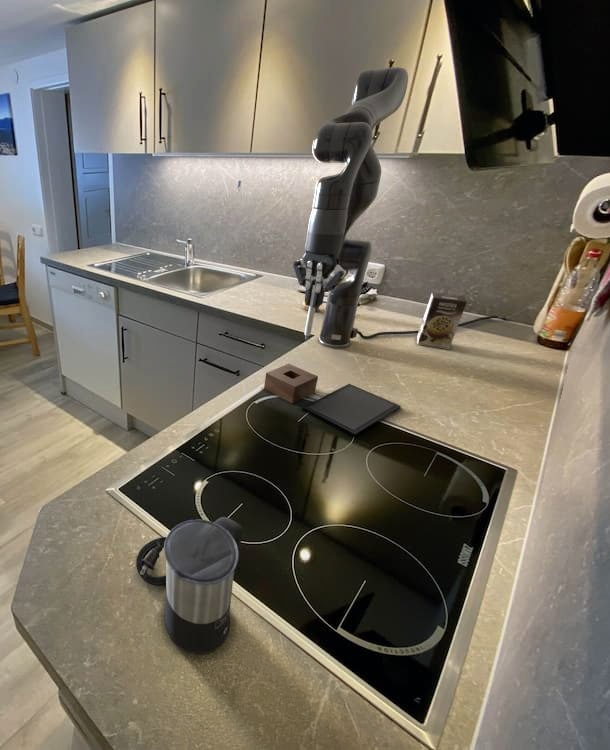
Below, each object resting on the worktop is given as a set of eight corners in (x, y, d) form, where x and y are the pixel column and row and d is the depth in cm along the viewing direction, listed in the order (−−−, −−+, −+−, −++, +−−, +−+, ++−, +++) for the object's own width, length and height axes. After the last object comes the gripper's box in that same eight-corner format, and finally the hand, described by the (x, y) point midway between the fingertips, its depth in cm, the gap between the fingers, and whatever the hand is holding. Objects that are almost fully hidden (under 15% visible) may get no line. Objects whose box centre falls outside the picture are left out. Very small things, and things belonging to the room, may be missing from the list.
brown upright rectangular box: (417, 344, 137) (432, 297, 129) (416, 337, 142) (431, 291, 134) (449, 349, 133) (467, 301, 125) (448, 342, 138) (464, 295, 130)
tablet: (348, 386, 114) (349, 383, 113) (400, 408, 103) (401, 405, 103) (302, 409, 104) (302, 406, 103) (354, 437, 93) (355, 433, 93)
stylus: (305, 337, 103) (315, 284, 97) (310, 339, 102) (320, 285, 96) (302, 339, 103) (311, 285, 96) (307, 340, 102) (316, 286, 95)
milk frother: (221, 668, 52) (231, 594, 45) (109, 623, 57) (102, 550, 50) (242, 573, 64) (252, 503, 57) (147, 543, 69) (145, 475, 62)
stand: (286, 379, 118) (288, 363, 115) (314, 392, 111) (318, 376, 108) (263, 388, 113) (265, 372, 111) (292, 403, 106) (295, 386, 104)
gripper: (365, 231, 87) (348, 310, 95) (309, 224, 97) (298, 295, 105) (345, 236, 83) (328, 317, 92) (289, 227, 93) (279, 301, 101)
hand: (312, 305), depth 98 cm, fingers closed on stylus, 1 cm apart
